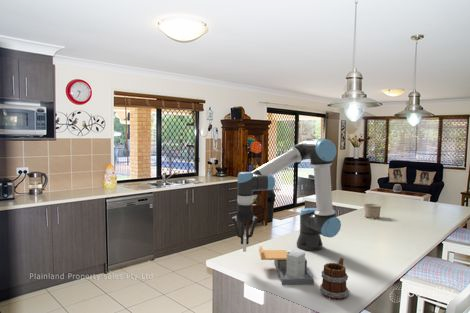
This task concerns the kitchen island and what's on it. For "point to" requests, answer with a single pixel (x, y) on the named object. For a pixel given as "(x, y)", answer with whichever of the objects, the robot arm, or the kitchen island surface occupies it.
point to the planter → (372, 210)
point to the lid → (272, 254)
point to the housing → (303, 280)
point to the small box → (295, 264)
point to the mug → (334, 281)
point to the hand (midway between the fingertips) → (244, 250)
